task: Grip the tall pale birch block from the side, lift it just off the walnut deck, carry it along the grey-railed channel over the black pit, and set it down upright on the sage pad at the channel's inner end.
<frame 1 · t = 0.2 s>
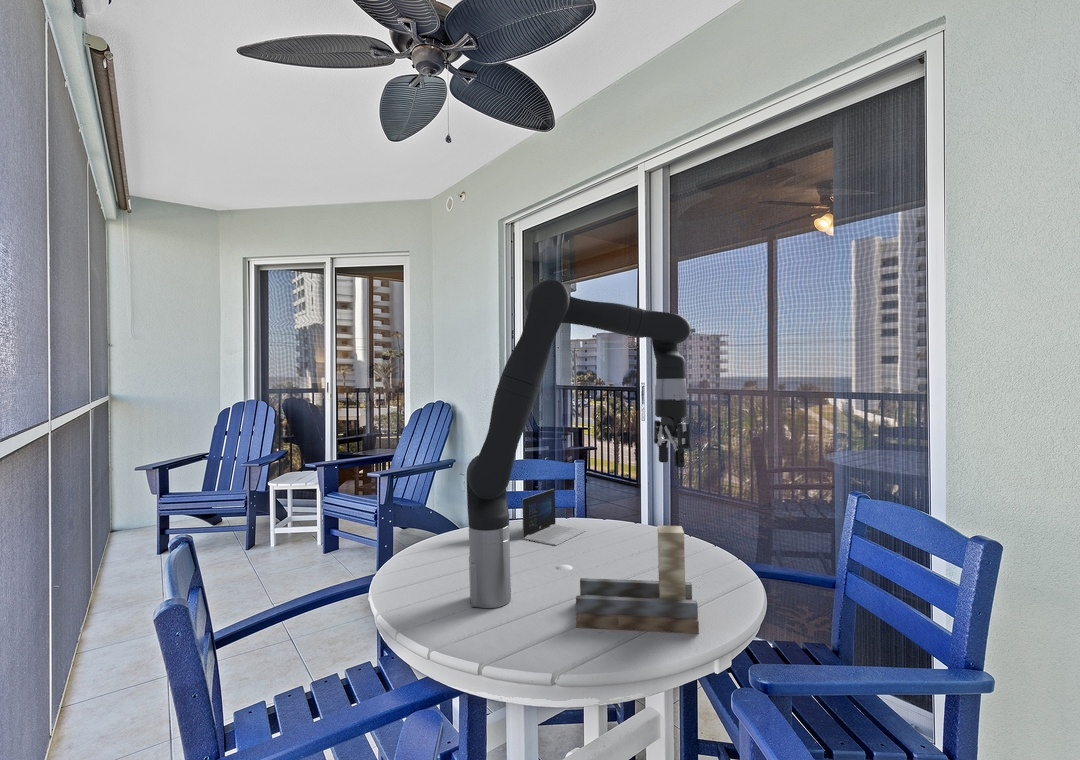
hand: (671, 464, 131), 29 cm above the table, tool pointing down, fingers open, 8 cm apart
laptop: (555, 536, 173), on the table
tall block: (672, 605, 113), point 2 cm above the table, touching channel deck
supplement bottle: (492, 541, 169), on the table
channel deck: (635, 616, 114), on the table
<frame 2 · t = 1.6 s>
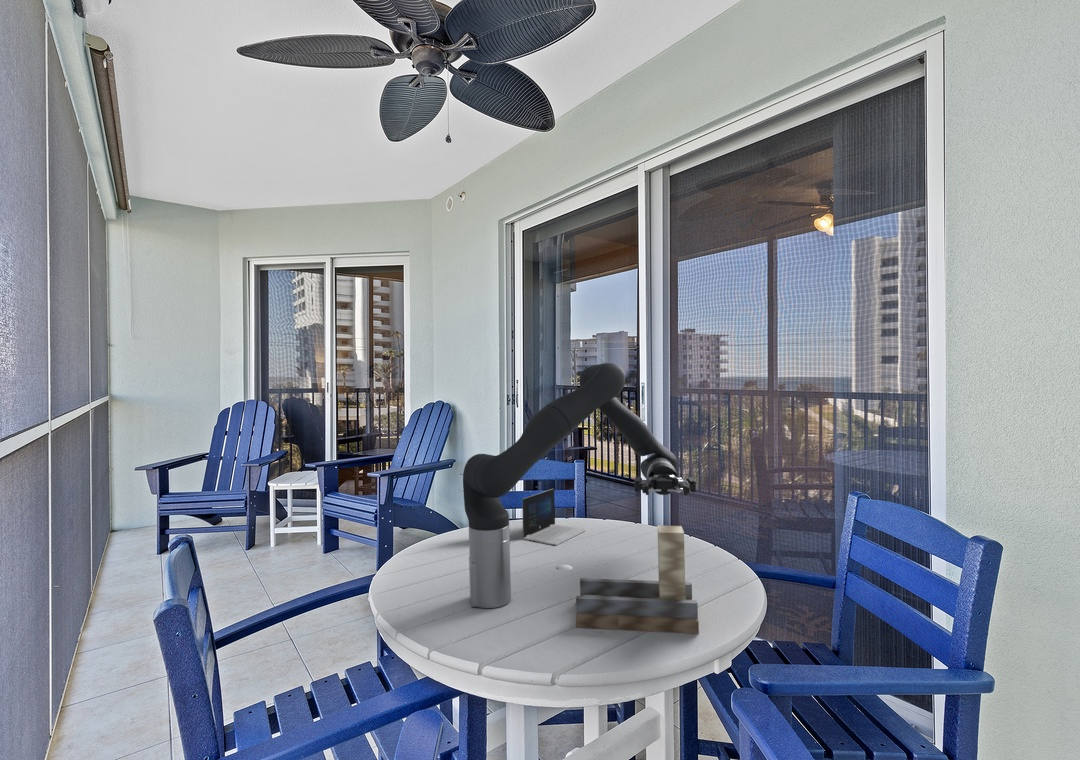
hand: (666, 490, 123), 24 cm above the table, tool horizontal, fingers open, 8 cm apart
nothing on the table moved.
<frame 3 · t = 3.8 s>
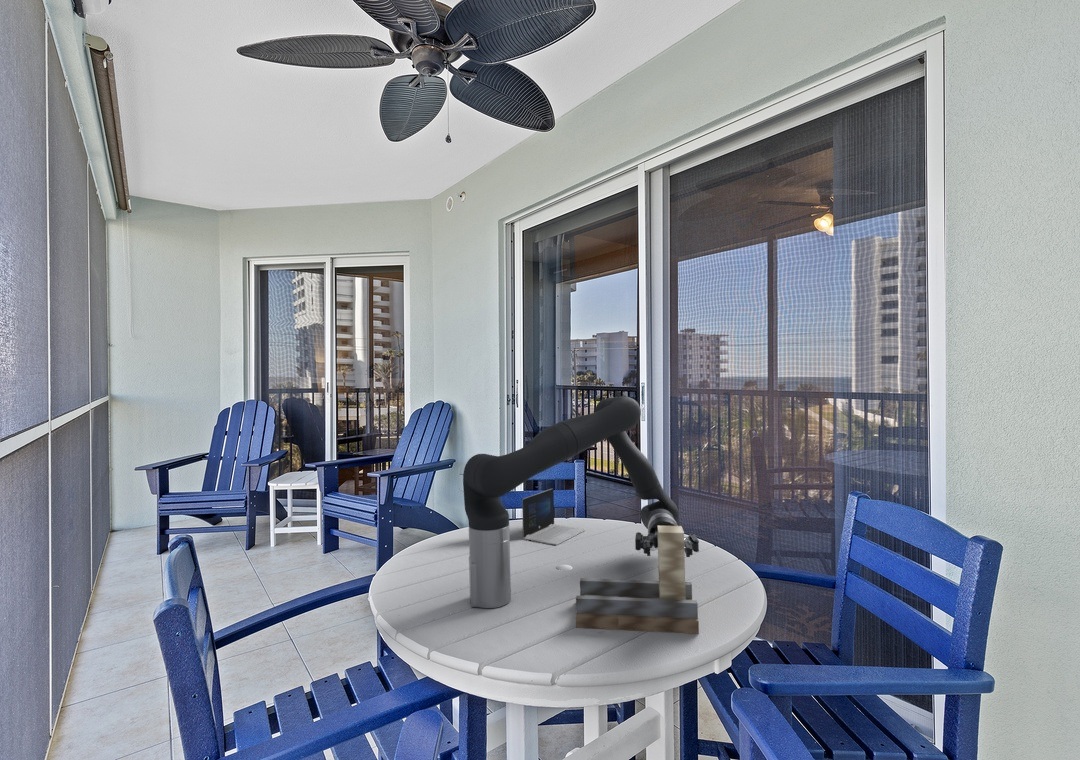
hand: (668, 552, 119), 11 cm above the table, tool horizontal, fingers open, 8 cm apart
nothing on the table moved.
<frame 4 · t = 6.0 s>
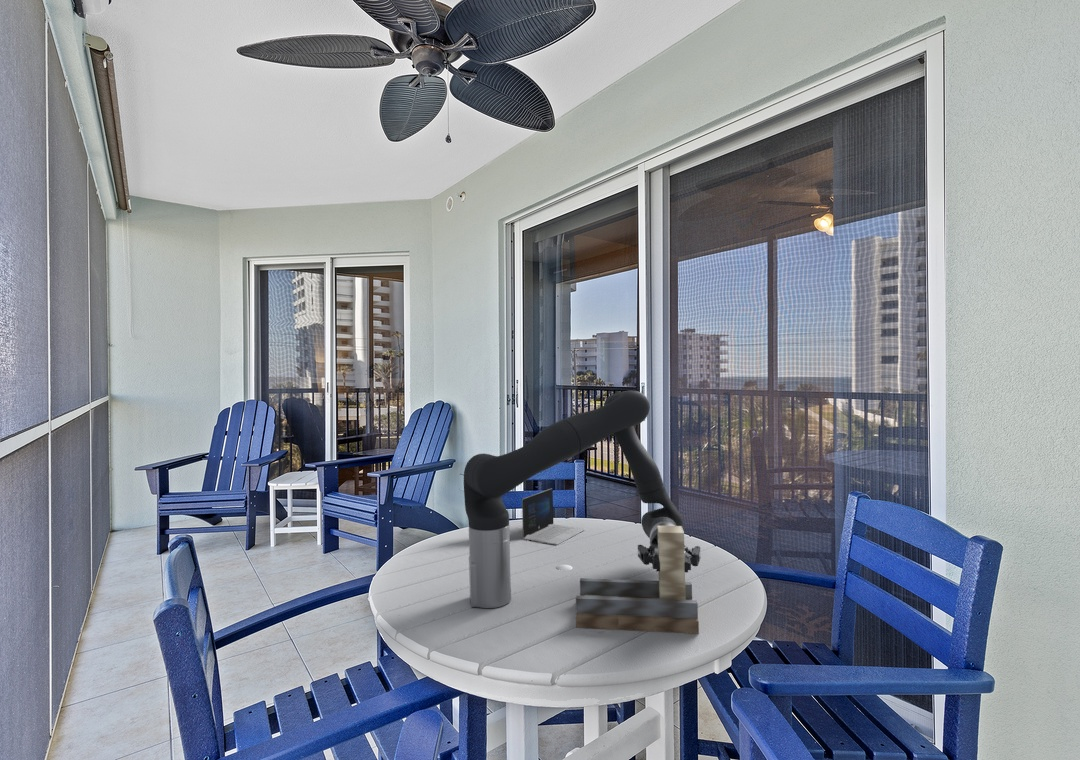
hand: (672, 567, 110), 11 cm above the table, tool horizontal, fingers closed on tall block, 5 cm apart
tall block: (672, 605, 113), point 3 cm above the table, touching channel deck, gripper
everything else where it was.
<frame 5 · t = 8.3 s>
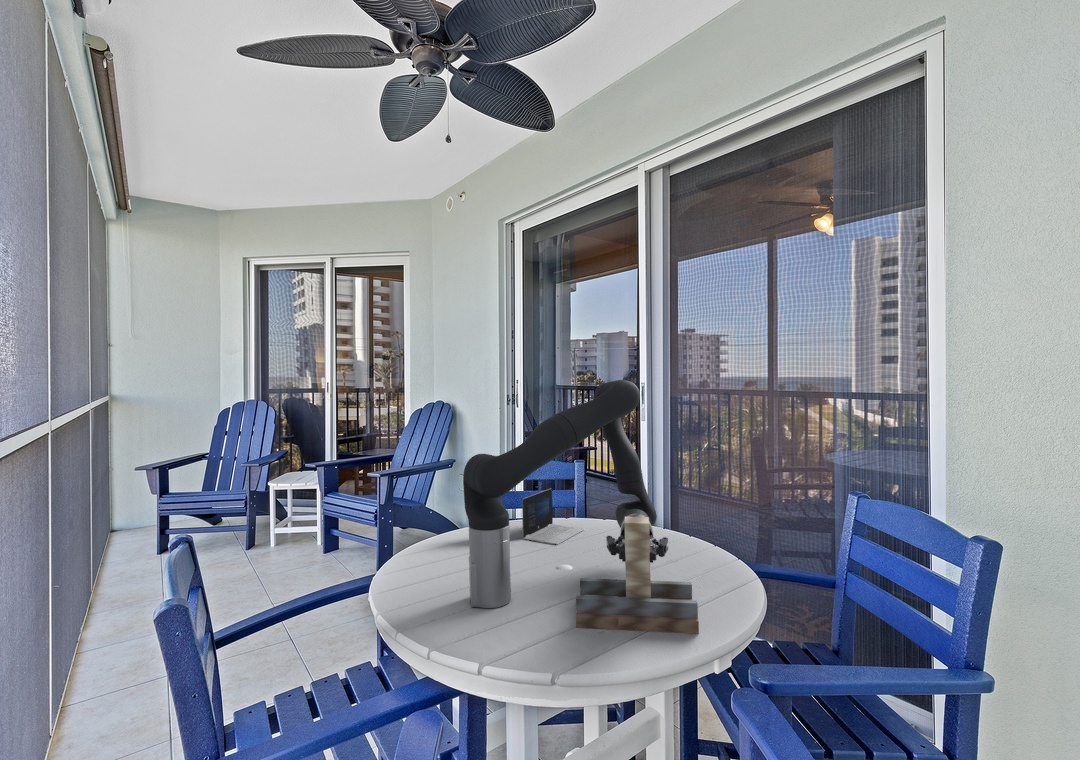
hand: (637, 557, 111), 13 cm above the table, tool horizontal, fingers closed on tall block, 5 cm apart
tall block: (638, 595, 114), point 4 cm above the table, touching gripper
everything else where it was.
when the fingers open (12 cm above the table, at t = 10.6 s): tall block stays where it is, resting on channel deck.
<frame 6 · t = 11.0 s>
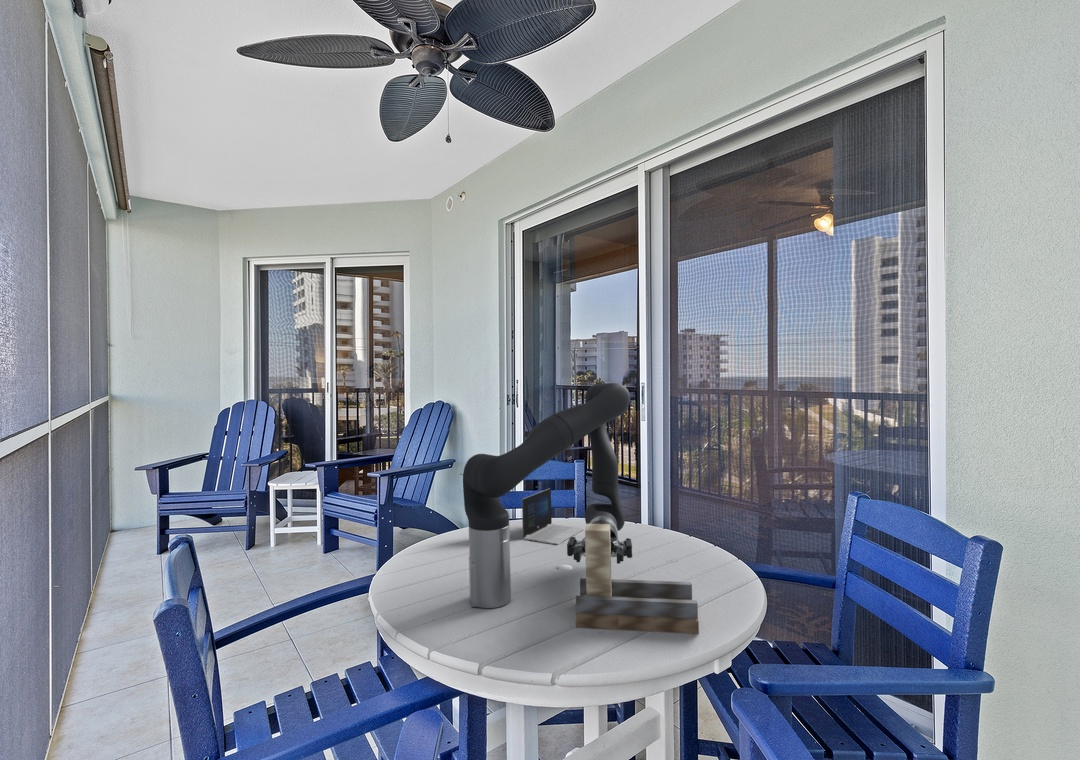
hand: (598, 558, 113), 13 cm above the table, tool horizontal, fingers open, 8 cm apart
tall block: (599, 602, 115), point 3 cm above the table, touching channel deck
everything else where it was.
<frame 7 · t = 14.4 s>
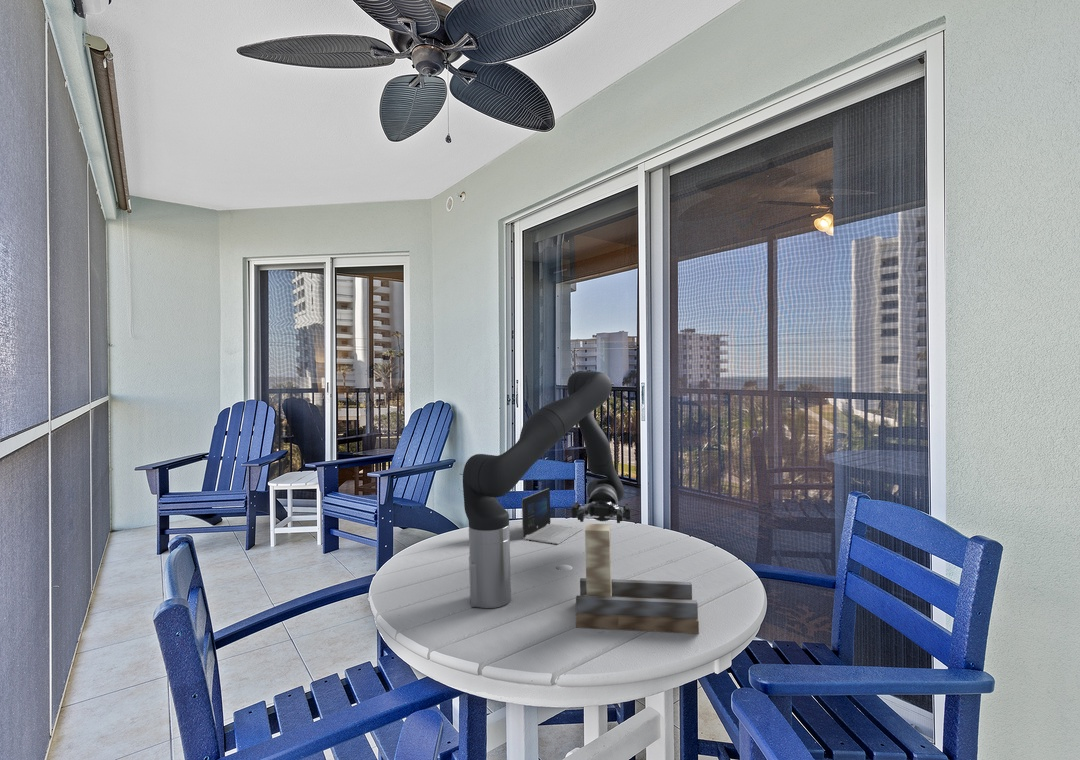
hand: (599, 518, 126), 18 cm above the table, tool horizontal, fingers open, 8 cm apart
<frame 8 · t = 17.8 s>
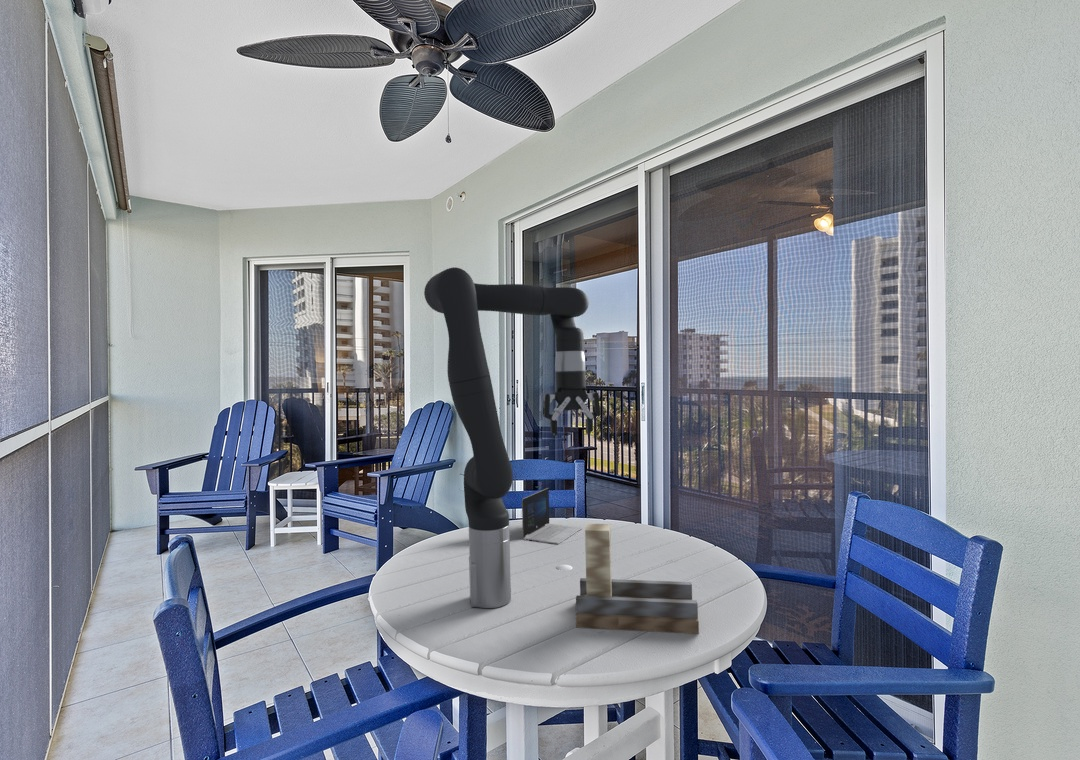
hand: (571, 434, 135), 36 cm above the table, tool pointing down, fingers open, 8 cm apart
at the end: tall block 0.1 cm from the target spot on the channel deck, point 2.6 cm above the channel deck's base; tall block tilted 0°; the gripper is holding nothing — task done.
